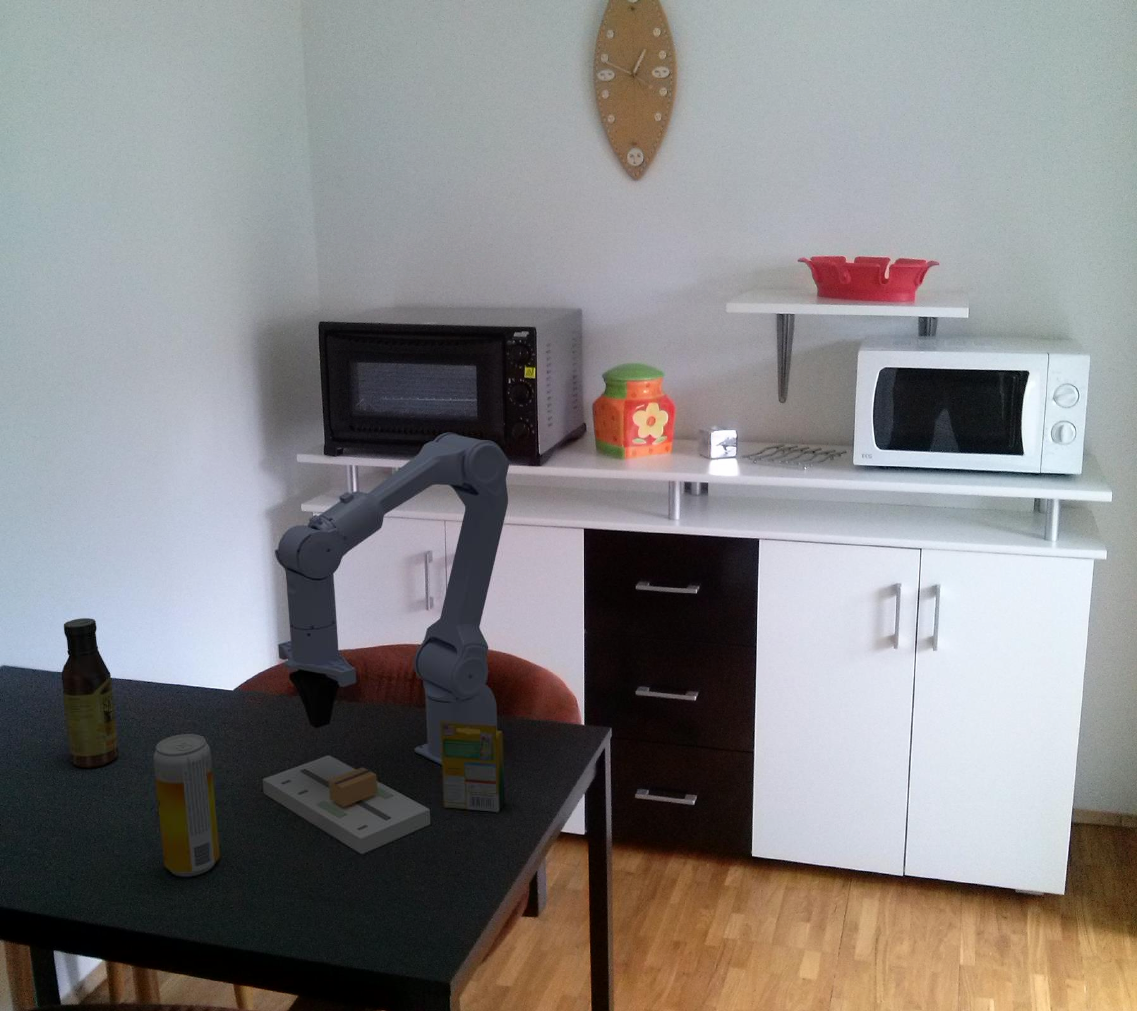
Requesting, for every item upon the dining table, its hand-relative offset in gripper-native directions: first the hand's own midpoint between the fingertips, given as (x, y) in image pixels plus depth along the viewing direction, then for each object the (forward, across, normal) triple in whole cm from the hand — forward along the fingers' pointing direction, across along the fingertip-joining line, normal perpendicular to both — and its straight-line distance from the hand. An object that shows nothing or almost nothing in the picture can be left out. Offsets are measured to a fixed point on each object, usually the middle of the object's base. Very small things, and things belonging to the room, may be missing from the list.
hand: (320, 724), depth 150 cm
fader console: (+10, +4, 0) cm, 11 cm away
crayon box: (+10, +16, +12) cm, 22 cm away
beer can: (+10, +4, -20) cm, 23 cm away
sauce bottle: (+10, -32, -16) cm, 38 cm away
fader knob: (+7, +7, 0) cm, 10 cm away
